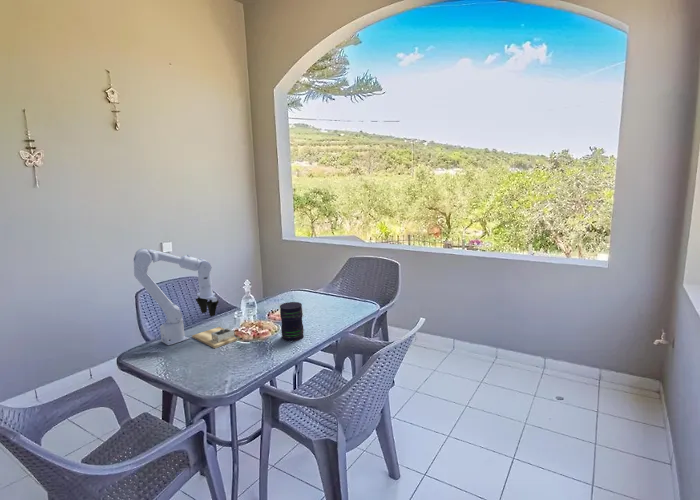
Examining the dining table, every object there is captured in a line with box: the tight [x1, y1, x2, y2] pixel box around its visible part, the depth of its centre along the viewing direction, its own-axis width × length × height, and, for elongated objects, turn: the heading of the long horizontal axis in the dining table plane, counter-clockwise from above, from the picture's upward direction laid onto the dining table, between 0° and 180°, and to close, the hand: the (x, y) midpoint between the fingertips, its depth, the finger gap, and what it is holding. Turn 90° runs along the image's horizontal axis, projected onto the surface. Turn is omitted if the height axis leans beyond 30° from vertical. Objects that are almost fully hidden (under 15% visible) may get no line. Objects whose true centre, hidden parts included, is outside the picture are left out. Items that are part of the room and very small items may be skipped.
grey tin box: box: [211, 327, 235, 343], centre depth 194 cm, size 8×6×3 cm
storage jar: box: [279, 301, 305, 342], centre depth 194 cm, size 10×10×15 cm
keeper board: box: [191, 326, 238, 349], centre depth 197 cm, size 14×20×5 cm
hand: (208, 314), depth 202 cm, fingers open, 7 cm apart
